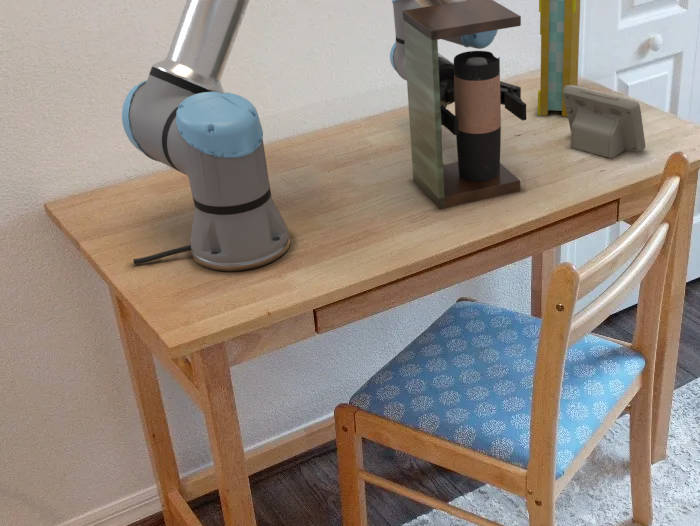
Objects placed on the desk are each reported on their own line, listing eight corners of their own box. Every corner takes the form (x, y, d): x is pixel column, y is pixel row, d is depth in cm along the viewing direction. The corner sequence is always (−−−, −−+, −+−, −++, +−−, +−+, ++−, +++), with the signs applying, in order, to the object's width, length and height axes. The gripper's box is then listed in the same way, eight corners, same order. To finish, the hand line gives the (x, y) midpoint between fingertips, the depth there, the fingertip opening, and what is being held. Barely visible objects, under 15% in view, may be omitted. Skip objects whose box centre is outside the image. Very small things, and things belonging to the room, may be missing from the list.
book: (571, 116, 198) (575, -14, 184) (537, 115, 200) (539, -15, 185) (580, 86, 212) (585, -38, 197) (549, 85, 213) (551, -38, 199)
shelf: (439, 209, 167) (431, 30, 150) (413, 181, 176) (402, 10, 159) (520, 191, 172) (521, 16, 155) (490, 165, 181) (488, -3, 164)
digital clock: (650, 152, 183) (655, 96, 177) (615, 166, 179) (619, 109, 173) (587, 127, 194) (589, 73, 188) (552, 140, 189) (554, 85, 183)
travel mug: (451, 179, 172) (446, 64, 160) (464, 161, 178) (460, 48, 166) (494, 184, 170) (492, 67, 158) (506, 165, 176) (505, 52, 164)
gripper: (498, 87, 187) (554, 127, 171) (377, 111, 179) (424, 155, 163) (497, 47, 183) (555, 84, 166) (373, 70, 175) (421, 111, 159)
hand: (490, 119), depth 165 cm, fingers open, 12 cm apart
